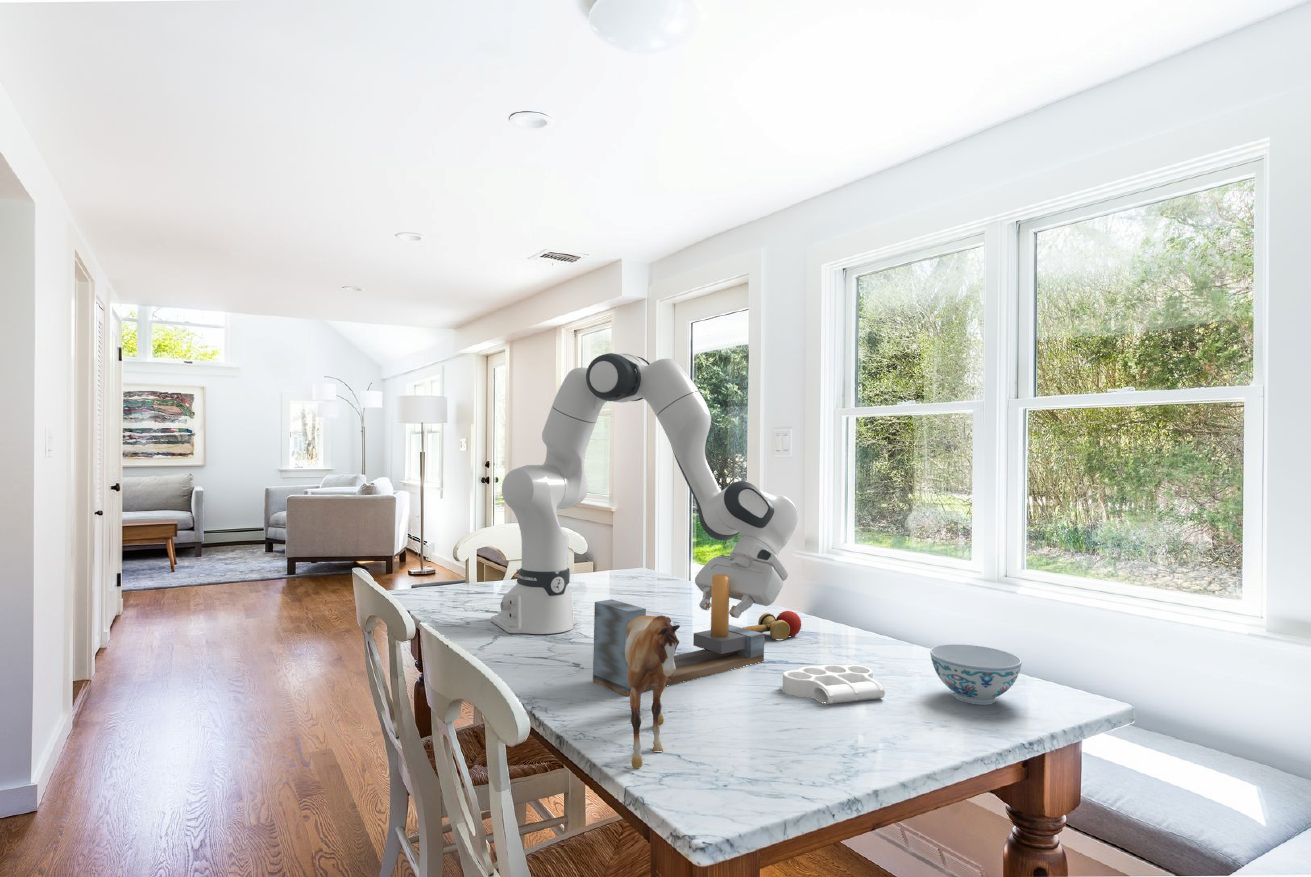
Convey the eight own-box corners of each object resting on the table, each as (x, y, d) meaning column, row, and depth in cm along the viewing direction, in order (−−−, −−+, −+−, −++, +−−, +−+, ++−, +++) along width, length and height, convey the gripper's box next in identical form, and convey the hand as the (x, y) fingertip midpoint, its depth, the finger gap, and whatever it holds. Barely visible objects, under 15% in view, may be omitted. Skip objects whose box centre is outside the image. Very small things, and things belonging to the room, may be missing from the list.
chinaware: (974, 682, 143) (975, 641, 143) (1041, 708, 129) (1041, 663, 129) (911, 689, 137) (912, 647, 137) (973, 717, 123) (974, 670, 123)
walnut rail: (590, 682, 137) (592, 602, 138) (728, 651, 161) (729, 582, 161) (627, 698, 129) (629, 612, 129) (767, 662, 153) (768, 590, 153)
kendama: (745, 652, 166) (811, 634, 173) (739, 624, 167) (805, 607, 174) (728, 650, 173) (792, 633, 180) (723, 622, 173) (786, 606, 181)
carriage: (693, 645, 153) (694, 574, 153) (717, 640, 157) (718, 571, 158) (721, 654, 147) (722, 580, 147) (745, 648, 151) (746, 576, 152)
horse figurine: (676, 783, 97) (680, 623, 97) (616, 781, 97) (620, 621, 97) (673, 702, 128) (675, 581, 128) (627, 701, 128) (630, 580, 128)
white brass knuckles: (811, 711, 126) (769, 685, 140) (899, 701, 132) (850, 677, 146) (812, 691, 126) (769, 667, 140) (900, 682, 132) (851, 659, 146)
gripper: (709, 544, 165) (675, 594, 158) (781, 556, 149) (747, 611, 143) (723, 563, 168) (690, 612, 161) (795, 576, 152) (762, 631, 146)
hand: (717, 612), depth 152 cm, fingers open, 7 cm apart
